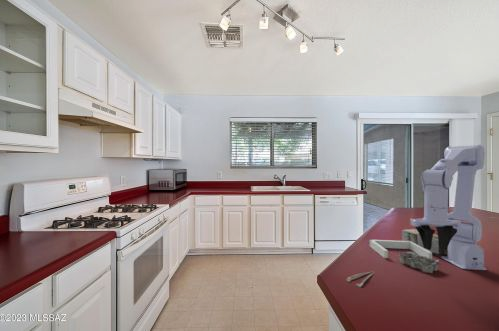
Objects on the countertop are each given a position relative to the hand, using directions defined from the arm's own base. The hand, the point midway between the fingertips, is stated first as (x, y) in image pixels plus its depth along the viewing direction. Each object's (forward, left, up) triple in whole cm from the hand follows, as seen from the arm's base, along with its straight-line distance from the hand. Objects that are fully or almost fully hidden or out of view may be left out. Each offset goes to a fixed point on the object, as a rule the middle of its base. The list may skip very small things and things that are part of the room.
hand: (434, 248), depth 68 cm
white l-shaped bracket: (+19, 0, -9) cm, 21 cm away
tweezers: (-1, +21, -10) cm, 24 cm away
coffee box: (+33, -13, -6) cm, 36 cm away
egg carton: (+9, 0, -10) cm, 13 cm away
